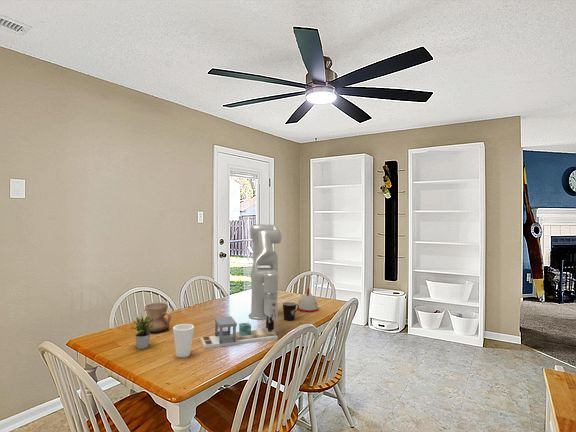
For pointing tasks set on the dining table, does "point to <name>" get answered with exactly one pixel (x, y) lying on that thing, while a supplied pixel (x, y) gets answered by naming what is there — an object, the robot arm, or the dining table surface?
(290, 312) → the coffee mug
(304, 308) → the grey service bell
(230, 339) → the tunnel board
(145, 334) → the house plant
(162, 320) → the ceramic jug
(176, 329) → the foam cup
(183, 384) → the dining table surface
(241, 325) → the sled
